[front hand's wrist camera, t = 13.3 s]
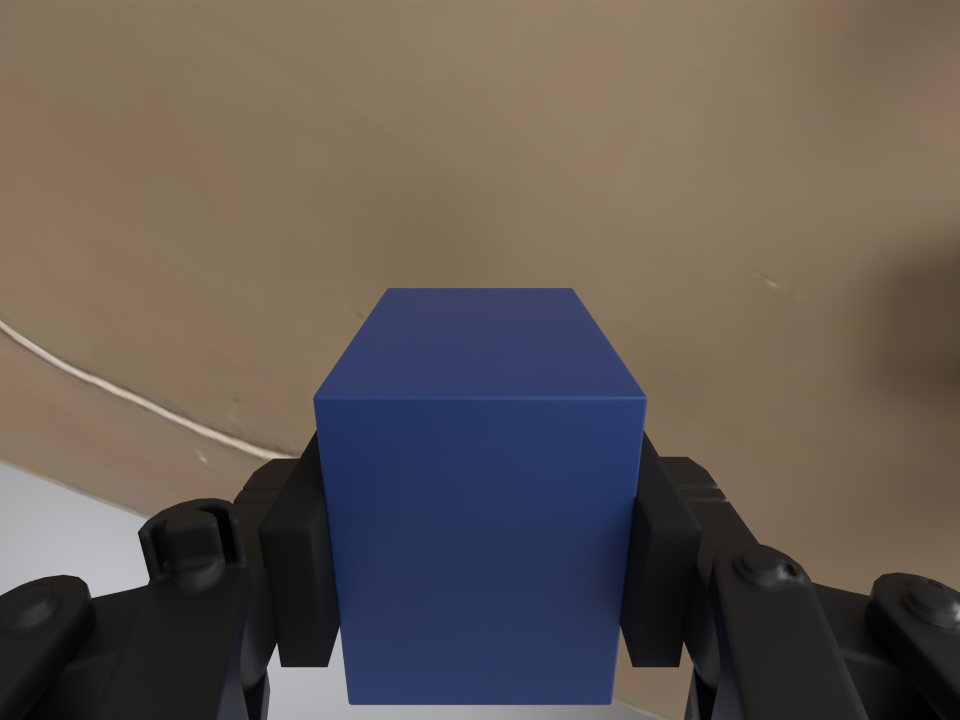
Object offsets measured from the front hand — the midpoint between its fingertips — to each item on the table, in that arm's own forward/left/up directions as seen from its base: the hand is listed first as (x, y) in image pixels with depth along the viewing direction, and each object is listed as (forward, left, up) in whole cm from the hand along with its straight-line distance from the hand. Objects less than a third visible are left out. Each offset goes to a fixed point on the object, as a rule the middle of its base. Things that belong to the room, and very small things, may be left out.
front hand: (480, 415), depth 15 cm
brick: (0, 0, -1) cm, 1 cm away
